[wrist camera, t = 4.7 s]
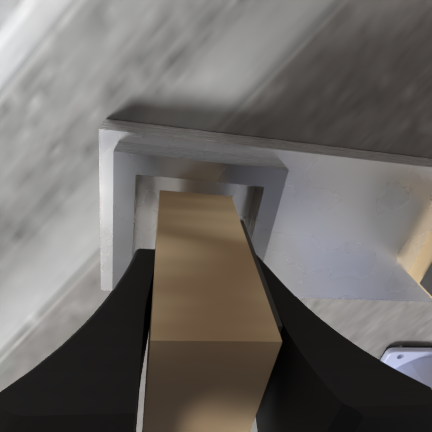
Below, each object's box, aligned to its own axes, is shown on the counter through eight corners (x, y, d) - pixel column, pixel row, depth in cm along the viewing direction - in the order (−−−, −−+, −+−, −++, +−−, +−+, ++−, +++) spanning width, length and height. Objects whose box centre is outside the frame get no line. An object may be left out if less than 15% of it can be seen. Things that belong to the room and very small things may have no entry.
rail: (505, 167, 18) (556, 190, 15) (434, 285, 21) (466, 317, 19) (105, 118, 14) (92, 138, 12) (106, 270, 18) (96, 308, 15)
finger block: (152, 272, 15) (141, 447, 9) (159, 190, 13) (150, 340, 7) (222, 275, 15) (256, 441, 9) (238, 197, 13) (295, 341, 7)
